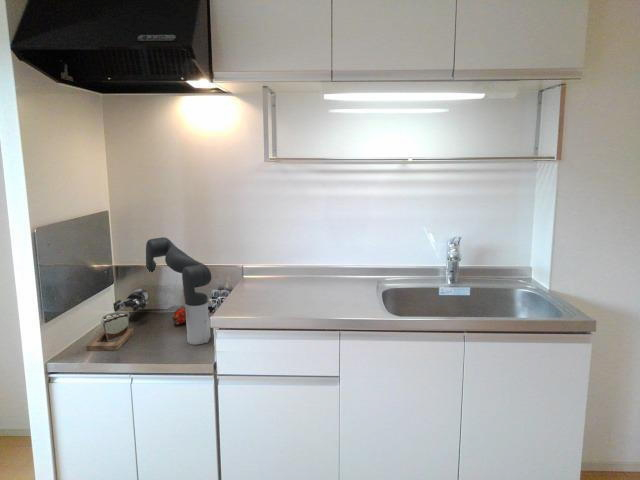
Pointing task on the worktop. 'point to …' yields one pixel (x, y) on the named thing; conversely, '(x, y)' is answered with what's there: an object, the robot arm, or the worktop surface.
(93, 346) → the notched board
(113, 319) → the food container
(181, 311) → the dragon fruit
